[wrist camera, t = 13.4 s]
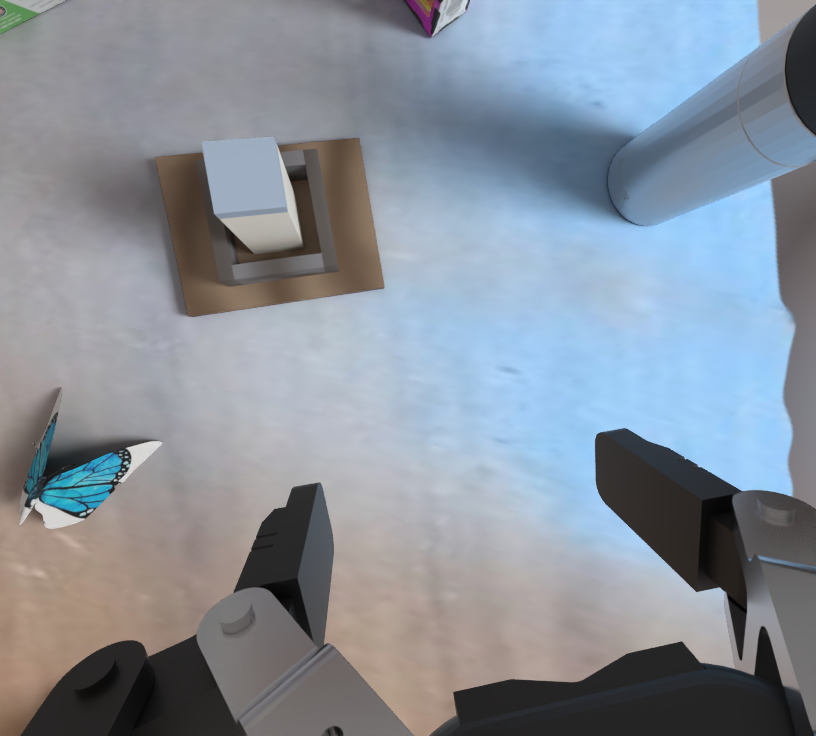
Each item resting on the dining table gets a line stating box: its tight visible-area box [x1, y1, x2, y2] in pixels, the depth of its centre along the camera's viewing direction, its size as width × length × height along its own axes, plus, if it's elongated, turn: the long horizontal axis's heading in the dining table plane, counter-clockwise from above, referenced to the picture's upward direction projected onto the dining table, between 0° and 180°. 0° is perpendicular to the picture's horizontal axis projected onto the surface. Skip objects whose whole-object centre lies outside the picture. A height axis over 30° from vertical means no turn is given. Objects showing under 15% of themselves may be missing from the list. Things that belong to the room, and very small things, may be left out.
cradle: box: [155, 138, 384, 317], centre depth 35 cm, size 18×14×4 cm
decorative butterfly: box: [19, 388, 162, 529], centre depth 34 cm, size 10×6×10 cm
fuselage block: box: [201, 136, 305, 254], centre depth 31 cm, size 4×4×11 cm
